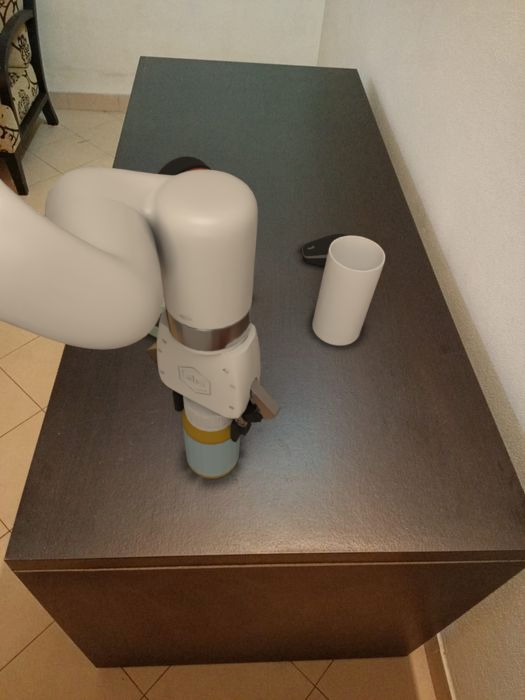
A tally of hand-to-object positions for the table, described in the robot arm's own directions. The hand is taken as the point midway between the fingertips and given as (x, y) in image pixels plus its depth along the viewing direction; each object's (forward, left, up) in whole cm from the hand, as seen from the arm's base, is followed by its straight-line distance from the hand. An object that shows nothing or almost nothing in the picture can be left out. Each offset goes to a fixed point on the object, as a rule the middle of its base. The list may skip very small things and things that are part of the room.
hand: (211, 416), depth 55 cm
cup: (+31, -5, -10) cm, 33 cm away
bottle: (0, 0, -10) cm, 10 cm away
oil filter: (+41, +31, -10) cm, 52 cm away
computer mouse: (+48, +3, -10) cm, 49 cm away
